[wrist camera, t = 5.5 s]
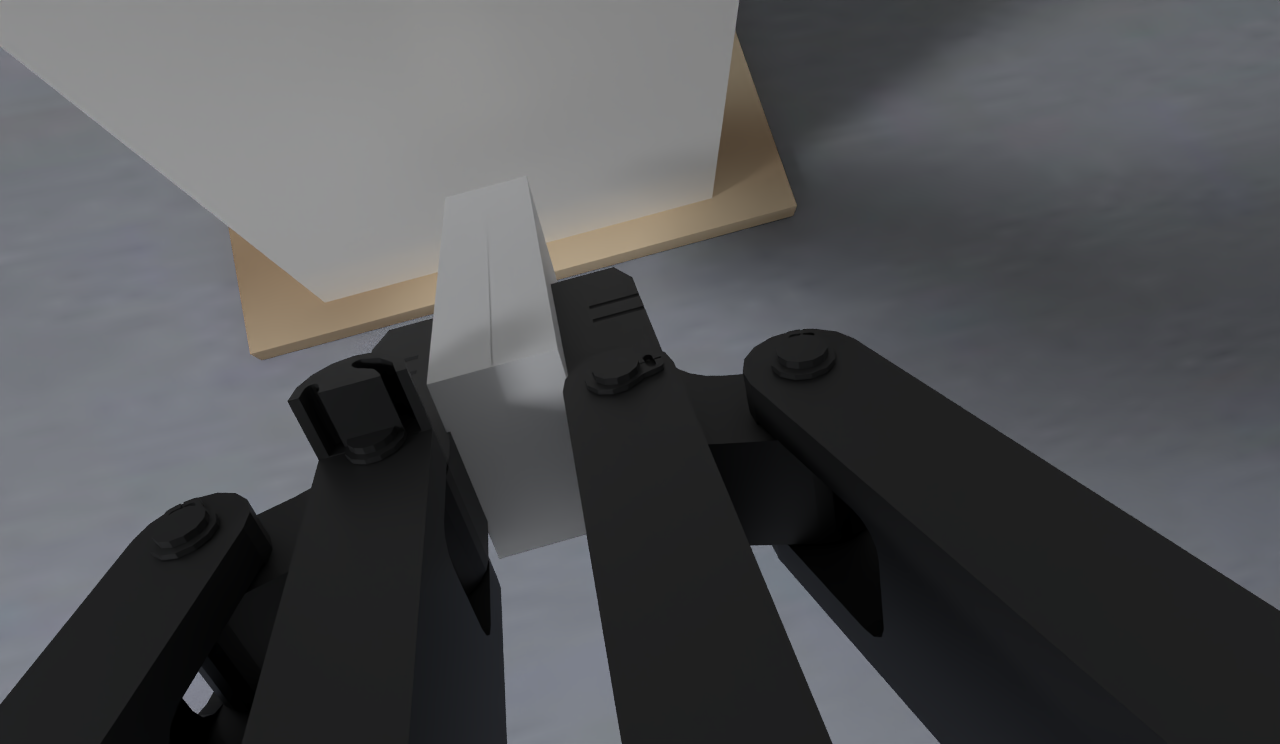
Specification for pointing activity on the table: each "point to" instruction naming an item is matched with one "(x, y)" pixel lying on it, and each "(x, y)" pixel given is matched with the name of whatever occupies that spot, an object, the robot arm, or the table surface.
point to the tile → (394, 112)
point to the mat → (740, 200)
